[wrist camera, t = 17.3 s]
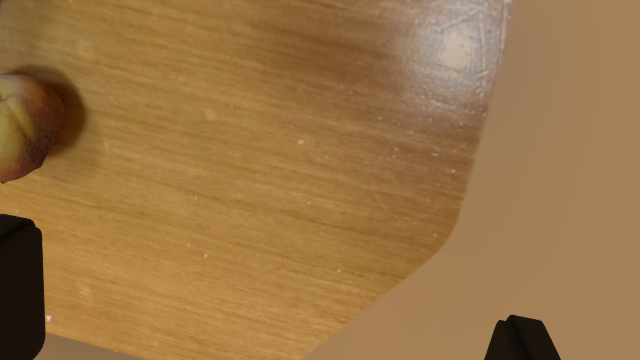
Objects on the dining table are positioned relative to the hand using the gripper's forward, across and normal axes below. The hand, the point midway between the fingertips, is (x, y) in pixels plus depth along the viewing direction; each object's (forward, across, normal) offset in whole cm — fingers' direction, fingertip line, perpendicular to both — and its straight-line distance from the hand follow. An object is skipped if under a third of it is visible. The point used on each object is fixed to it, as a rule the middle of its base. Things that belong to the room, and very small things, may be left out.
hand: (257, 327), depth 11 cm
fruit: (+31, +24, +7) cm, 39 cm away
